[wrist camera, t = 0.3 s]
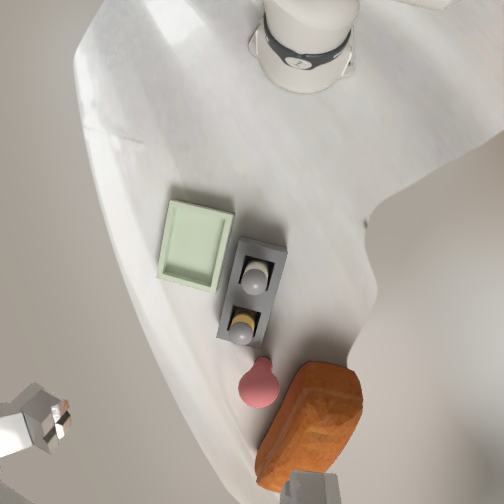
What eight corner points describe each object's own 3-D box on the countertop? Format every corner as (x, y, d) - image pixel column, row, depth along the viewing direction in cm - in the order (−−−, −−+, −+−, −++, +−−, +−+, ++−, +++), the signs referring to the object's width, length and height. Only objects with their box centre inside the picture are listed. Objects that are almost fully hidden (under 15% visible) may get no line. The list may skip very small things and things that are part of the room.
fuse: (249, 253, 55) (244, 267, 46) (271, 259, 55) (269, 274, 46) (244, 274, 56) (238, 291, 47) (265, 279, 56) (263, 297, 47)
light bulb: (236, 364, 60) (227, 401, 48) (258, 341, 59) (254, 377, 47) (264, 382, 61) (260, 421, 49) (287, 361, 59) (288, 399, 47)
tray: (174, 199, 54) (169, 200, 51) (234, 213, 53) (232, 215, 51) (161, 273, 57) (156, 277, 55) (217, 289, 57) (215, 294, 54)
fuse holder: (241, 236, 54) (238, 240, 50) (287, 247, 54) (287, 253, 50) (220, 327, 58) (216, 337, 55) (261, 338, 58) (259, 348, 54)
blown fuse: (238, 300, 57) (231, 321, 48) (258, 305, 57) (255, 327, 48) (233, 318, 58) (226, 342, 49) (253, 323, 58) (249, 348, 49)
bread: (363, 370, 59) (382, 419, 43) (304, 464, 66) (305, 511, 51) (301, 355, 59) (306, 406, 44) (252, 454, 67) (247, 502, 51)
